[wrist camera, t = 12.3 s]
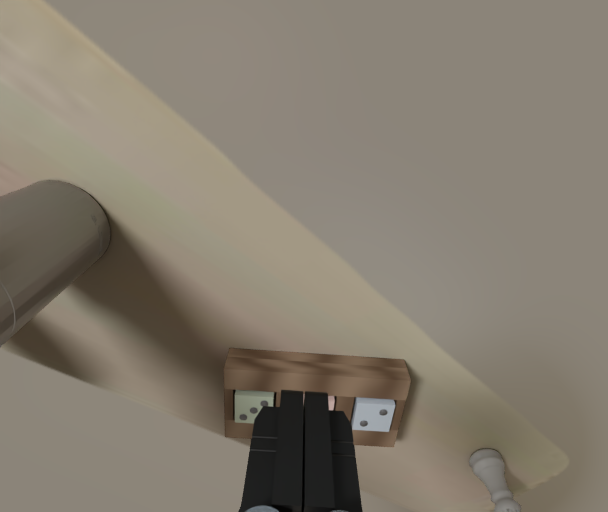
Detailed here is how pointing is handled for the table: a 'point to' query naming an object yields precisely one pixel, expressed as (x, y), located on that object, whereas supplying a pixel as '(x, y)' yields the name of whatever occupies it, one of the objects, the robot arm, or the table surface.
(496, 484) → the rook chess piece
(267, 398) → the three-pip button
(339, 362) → the button panel
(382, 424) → the two-pip button
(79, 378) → the table surface
